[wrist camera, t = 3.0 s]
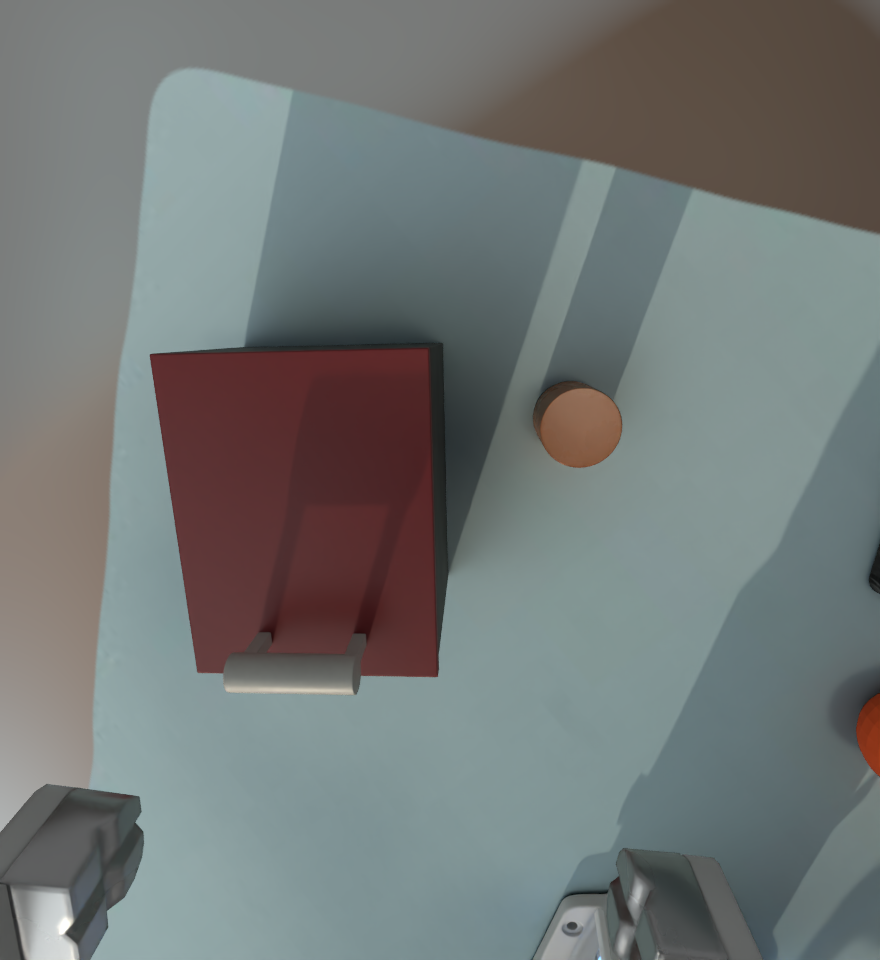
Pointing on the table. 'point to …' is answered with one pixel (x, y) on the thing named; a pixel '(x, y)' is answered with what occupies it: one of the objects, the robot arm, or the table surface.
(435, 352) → the dark grey box
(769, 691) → the table surface
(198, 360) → the lid
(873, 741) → the clementine
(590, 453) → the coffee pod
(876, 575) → the phone
